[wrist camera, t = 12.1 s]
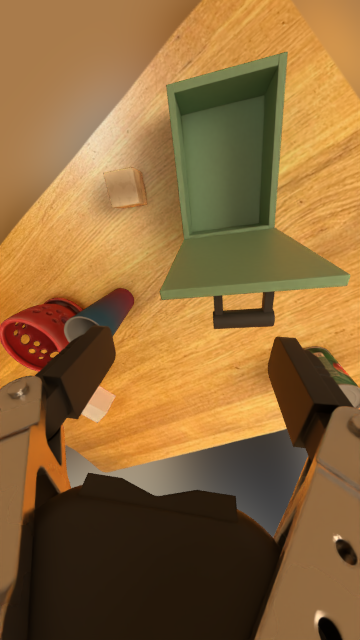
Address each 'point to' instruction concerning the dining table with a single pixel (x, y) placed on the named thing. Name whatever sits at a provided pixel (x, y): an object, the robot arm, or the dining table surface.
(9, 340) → the flower pot
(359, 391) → the canned tomato
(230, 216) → the box
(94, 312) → the cup
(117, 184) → the wooden block
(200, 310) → the dining table surface
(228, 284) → the lunchbox lid
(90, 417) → the beige cube
